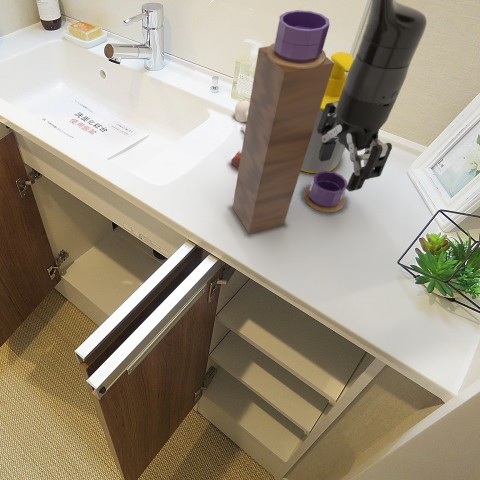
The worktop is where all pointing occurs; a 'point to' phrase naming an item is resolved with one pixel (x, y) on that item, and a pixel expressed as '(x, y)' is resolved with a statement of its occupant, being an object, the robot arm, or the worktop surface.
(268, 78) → the walnut stand
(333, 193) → the purple cup
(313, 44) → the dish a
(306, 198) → the coaster back
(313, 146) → the soap bottle
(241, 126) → the rivet
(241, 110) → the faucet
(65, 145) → the worktop surface
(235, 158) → the dental model
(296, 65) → the coaster top
